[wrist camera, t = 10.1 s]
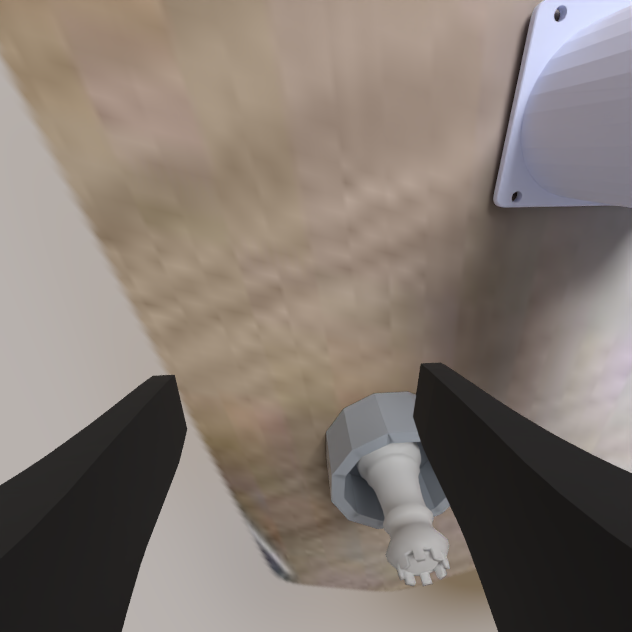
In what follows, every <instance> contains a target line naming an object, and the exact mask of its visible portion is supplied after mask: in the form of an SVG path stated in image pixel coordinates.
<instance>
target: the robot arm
mask: <svg viewBox="0 0 632 632" xmlns="http://www.w3.org/2000/svg"><path fill="white" fill-rule="evenodd" d="M556 9H557V10H559V12H560V18H559V20H558V22H557V21H555V19H554V13H555V10H556ZM515 192H517V197H516V199H515V200H514V201H512V195H513V194H514V193H515ZM493 201H494V203H495V204H496V205H497V206H500V207H556V206H609V205H616V206H622V207H629V208H632V0H544V1H542V2H541V3H539V4H538V5H537V6H536V7H535V9H534V10H533V13H532V15H531V19H530V24H529V29H528V34H527V39H526V43H525V48H524V53H523V58H522V62H521V67H520V72H519V77H518V81H517V86H516V91H515V96H514V101H513V105H512V110H511V115H510V120H509V124H508V129H507V134H506V139H505V144H504V148H503V153H502V158H501V163H500V167H499V172H498V177H497V182H496V186H495V191H494V196H493ZM413 419H414V422H415V425H416V428H417V432H418V435H419V438H420V441H421V444H422V447H423V449H424V451H425V454H426V456H427V458H428V460H429V462H430V464H431V467H432V469H433V471H434V473H435V475H436V477H437V479H438V481H439V483H440V486H441V488H442V490H443V492H444V494H445V496H446V498H447V500H448V502H449V505H450V507H451V509H452V511H453V513H454V515H455V517H456V519H457V521H458V524H459V526H460V528H461V531H462V533H463V535H464V538H465V540H466V542H467V545H468V548H469V551H470V553H471V556H472V559H473V561H474V564H475V567H476V570H477V572H478V575H479V578H480V580H481V583H482V586H483V589H484V592H485V595H486V598H487V600H488V604H489V606H490V609H491V612H492V615H493V618H494V621H495V624H496V626H497V630H498V632H632V473H630V472H628V471H626V470H623V469H621V468H619V467H617V466H615V465H612V464H610V463H608V462H606V461H604V460H602V459H600V458H598V457H596V456H594V455H592V454H590V453H588V452H586V451H584V450H582V449H580V448H578V447H577V446H575V445H573V444H571V443H569V442H567V441H565V440H563V439H561V438H559V437H558V436H556V435H554V434H552V433H550V432H549V431H547V430H545V429H543V428H542V427H540V426H538V425H537V424H535V423H533V422H532V421H530V420H528V419H527V418H525V417H523V416H522V415H520V414H518V413H517V412H515V411H514V410H512V409H511V408H509V407H507V406H506V405H504V404H503V403H501V402H500V401H498V400H497V399H495V398H494V397H492V396H491V395H489V394H488V393H486V392H485V391H483V390H482V389H480V388H479V387H477V386H476V385H474V384H473V383H471V382H470V381H468V380H467V379H465V378H464V377H462V376H461V375H460V374H458V373H457V372H455V371H454V370H452V369H450V368H449V367H447V366H446V365H444V364H442V363H423V364H421V366H420V373H419V379H418V386H417V393H416V399H415V406H414V412H413ZM186 432H187V427H186V422H185V418H184V413H183V409H182V405H181V400H180V396H179V392H178V387H177V383H176V379H175V375H160V376H152V377H151V378H149V379H148V380H146V381H145V382H144V383H142V384H141V385H140V386H138V387H137V388H136V389H134V390H133V391H132V392H131V393H129V394H128V395H127V396H126V397H124V398H123V399H122V400H121V401H119V402H118V403H117V404H115V405H114V406H113V407H112V408H110V409H109V410H108V411H106V412H105V413H104V414H103V415H101V416H100V417H99V418H97V419H96V420H95V421H94V422H92V423H91V424H90V425H88V426H87V427H85V428H84V429H83V430H81V431H80V432H79V433H78V434H76V435H74V436H73V437H72V438H70V439H69V440H68V441H66V442H65V443H63V444H62V445H61V446H59V447H58V448H57V449H55V450H54V451H52V452H51V453H49V454H48V455H47V456H45V457H44V458H42V459H41V460H39V461H38V462H36V463H35V464H33V465H32V466H30V467H29V468H27V469H26V470H24V471H22V472H21V473H19V474H18V475H16V476H15V477H13V478H11V479H10V480H8V481H7V482H5V483H3V484H2V485H0V632H122V628H123V625H124V621H125V617H126V613H127V610H128V606H129V603H130V599H131V596H132V592H133V588H134V586H135V582H136V579H137V575H138V572H139V568H140V564H141V562H142V559H143V556H144V553H145V550H146V547H147V544H148V542H149V539H150V537H151V534H152V532H153V529H154V527H155V524H156V521H157V519H158V516H159V514H160V511H161V509H162V506H163V503H164V501H165V498H166V495H167V493H168V490H169V488H170V485H171V483H172V480H173V477H174V475H175V472H176V469H177V467H178V464H179V461H180V457H181V453H182V449H183V445H184V441H185V436H186Z"/></svg>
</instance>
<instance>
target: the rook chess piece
mask: <svg viewBox="0 0 632 632" xmlns="http://www.w3.org/2000/svg"><path fill="white" fill-rule="evenodd" d="M420 463H421V454H420V450H419V447H418V445H417V442H406V443H390V444H388V445H386V446H384V447H382V448H380V449H378V450H375V451H373V452H371V453H369V454H367V455H365V456H363V457H361V458H360V460H359V461H358V462H357V463H356V465H357V468H358V471H359V473H360V475H361V477H363V478H364V479H365V480H366V481H367V482H368V485H370V486H371V487H372V488H373V489H374V491H375V492H376V495H377V497H378V500H379V502H380V504H381V507H382V509H383V513H384V517H385V519H384V522H383V527H384V530H385V531H386V532H387V533H388V534H389V535H390V539H391V541H390V543H389V546H388V549H387V552H386V557H387V560H388V562H389V563H390V564H391V565H392V566H393V567H395V568H396V569H397V572H398V575H399V578H400V580H403V579H404V580H405V584H406V585H410V586H414V585H415V584H416V582H415V578H414V576H420V578H421V581H422V584H423V586H426V585H430V584H432V580H431V577H430V574H429V573H431V572H434V571H435V573H436V575H437V578H438V579H441V580H442V579H443V578H444V577H445V576H446V575H447V572H446V570H445V569H450V566H449V562H448V560H447V553H448V550H449V543H448V539H447V538H446V537H445V536H443V535H442V534H441V533H440V532H438V531H437V530H436V529H434V527H433V525H432V522H433V519H434V518H433V513H432V512H431V511H430V510H429V509H428V508H427V507H426V505H425V502H424V500H423V497H422V493H421V489H420V485H419V478H418V476H419V473H420V468H419V466H420Z"/></svg>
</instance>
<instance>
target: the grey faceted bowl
mask: <svg viewBox="0 0 632 632" xmlns="http://www.w3.org/2000/svg"><path fill="white" fill-rule="evenodd" d="M415 399H416V395H415V394H413V393H411V392H392V393H374V394H372V395H370V396H368V397H366V398H364V399H362V400H360V401H358V402H356V403H354V404H352V405H350V406H348V407H346V408H344V409H343V410H342V411H341V413H340V414H339V416H338V417H337V418H336V420H335V421H334V422H333V424H332V425H331V426H330V428H329V429H328V430H327V432H326V460H327V468H328V477H329V485H330V494H331V501H332V502H333V503H334V505H335V506H336V507H337V508H338V509H339V510H340V511H341V512H342V513H343V515H344V516H345V517H346V518H347V519H348V520H350V521H353V522H357V523H360V524H363V525H366V526H370V527H373V528H376V529H381V528H384V527H383V522H384V519H385V517H384V513H383V509H382V507H381V504H380V502H379V500H378V497H377V495H376V492H375V491H374V489H373V488H372V487H371V486H370V485H368V482H367V481H366V480H365V479H364V478H363V477H361V475H360V473H359V471H358V468H357V465H356V463H357V462H358V461H359V460H360V458H361V457H363V456H365V455H367V454H369V453H371V452H373V451H375V450H378V449H380V448H382V447H384V446H386V445H388V444H390V443H406V442H417V445H418V447H419V450H420V454H421V463H420V466H419V468H420V473H419V476H418V478H419V485H420V489H421V493H422V497H423V500H424V502H425V505H426V507H427V508H428V509H429V510H430V511H431V512H432V513H433V517H434V516H437V515H439V514H442V513H443V512H444V511H445V510H446V509H447V508H448V507H449V506H450V505H449V502H448V500H447V498H446V496H445V494H444V492H443V490H442V488H441V486H440V483H439V481H438V479H437V477H436V475H435V473H434V471H433V469H432V467H431V464H430V462H429V460H428V458H427V456H426V454H425V451H424V449H423V447H422V444H421V441H420V438H419V435H418V432H417V428H416V425H415V422H414V419H413V412H414V406H415Z"/></svg>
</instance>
